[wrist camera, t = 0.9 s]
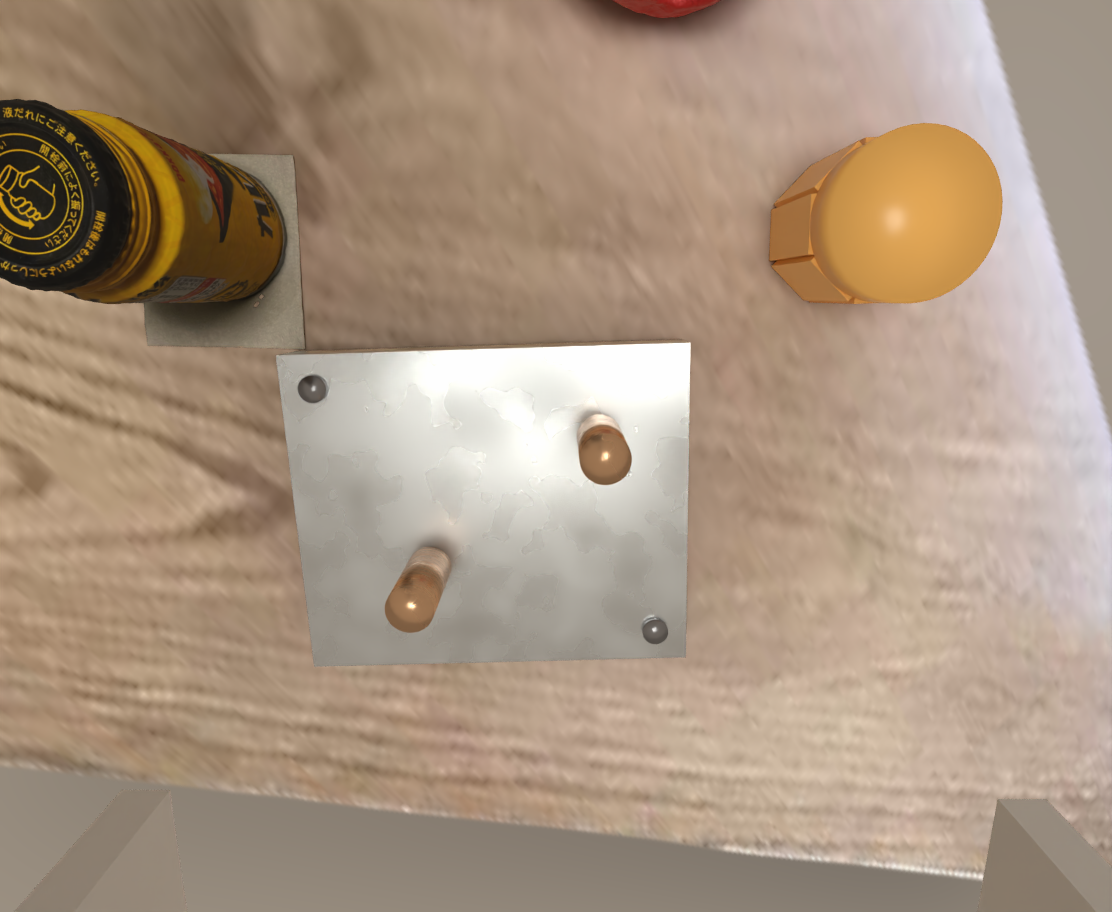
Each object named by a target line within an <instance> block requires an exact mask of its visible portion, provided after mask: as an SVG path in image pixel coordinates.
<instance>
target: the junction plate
mask: <svg viewBox="0 0 1112 912" xmlns="http://www.w3.org/2000/svg"><path fill="white" fill-rule="evenodd" d="M276 362H277V370H278V378H279V386H280V394H281V402H282V410H283V418H284V426H285V435H286V443H287V451H288V459H289V467H290V475H291V483H292V491H293V499H294V507H295V515H296V523H297V531H298V539H299V547H300V556H301V564H302V572H303V580H304V588H305V596H306V604H307V612H308V620H309V628H310V636H311V644H312V652H313V660H314V667H316V666H356V665H397V664H437V663H477V662H517V661H557V660H598V659H638V658H678V657H686V605H687V536H688V467H689V398H690V343H689V342H687V341H684V340H681V339H671V340H638V341H605V342H572V343H540V344H507V345H474V346H441V347H409V348H376V349H343V350H310V351H294V352H290V353H285V354H280V355H276Z"/></svg>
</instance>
